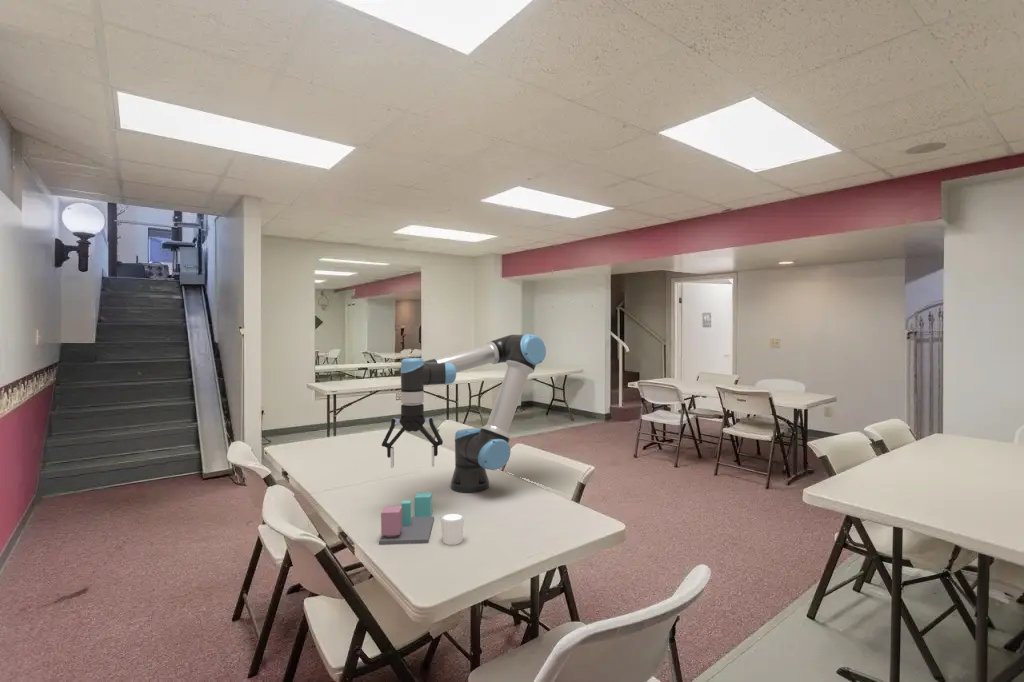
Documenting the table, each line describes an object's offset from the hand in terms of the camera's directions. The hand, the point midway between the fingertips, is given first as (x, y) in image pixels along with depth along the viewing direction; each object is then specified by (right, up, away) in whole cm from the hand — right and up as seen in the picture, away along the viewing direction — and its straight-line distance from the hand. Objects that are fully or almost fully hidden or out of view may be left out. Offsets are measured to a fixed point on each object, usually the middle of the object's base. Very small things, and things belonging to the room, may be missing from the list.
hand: (412, 466), depth 162 cm
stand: (+2, -16, -16) cm, 22 cm away
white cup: (+16, -16, -23) cm, 32 cm away
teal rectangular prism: (+4, -16, -1) cm, 16 cm away
